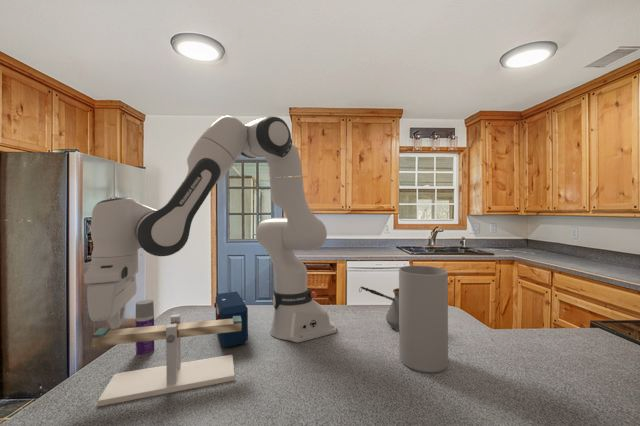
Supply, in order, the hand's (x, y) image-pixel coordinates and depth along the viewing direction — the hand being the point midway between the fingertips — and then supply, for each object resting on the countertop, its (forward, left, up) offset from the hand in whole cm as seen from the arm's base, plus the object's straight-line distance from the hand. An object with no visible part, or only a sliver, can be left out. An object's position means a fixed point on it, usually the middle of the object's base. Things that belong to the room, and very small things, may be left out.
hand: (117, 326), depth 68 cm
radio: (-26, -22, -15) cm, 37 cm away
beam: (-12, 0, -4) cm, 13 cm away
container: (-2, -18, -15) cm, 23 cm away
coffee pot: (-79, -9, -15) cm, 81 cm away
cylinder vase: (-75, +14, -15) cm, 78 cm away
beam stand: (-12, 0, -15) cm, 19 cm away
